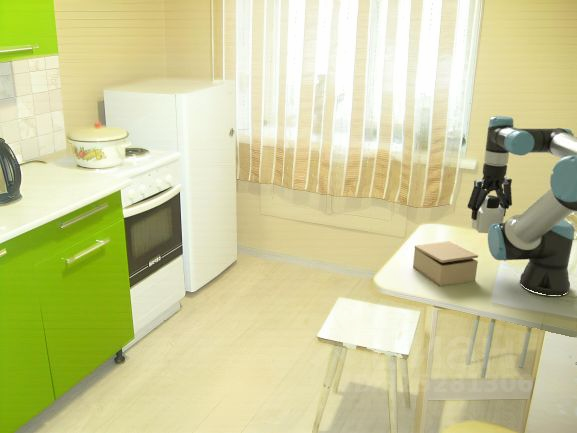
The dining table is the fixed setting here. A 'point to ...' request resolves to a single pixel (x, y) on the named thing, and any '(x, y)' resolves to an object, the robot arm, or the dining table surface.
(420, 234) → the dining table surface
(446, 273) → the box
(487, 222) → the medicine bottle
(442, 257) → the lid
